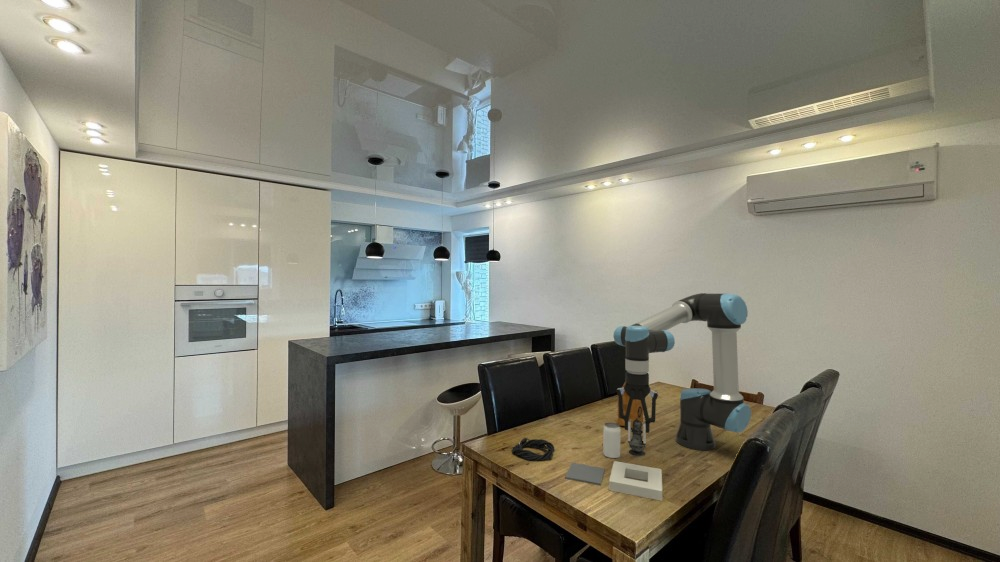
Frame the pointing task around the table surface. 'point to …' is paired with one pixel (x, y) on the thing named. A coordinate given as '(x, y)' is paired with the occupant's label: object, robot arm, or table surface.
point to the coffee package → (634, 412)
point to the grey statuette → (637, 440)
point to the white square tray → (636, 487)
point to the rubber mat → (585, 473)
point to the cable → (537, 445)
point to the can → (611, 440)
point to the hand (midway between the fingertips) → (637, 440)
